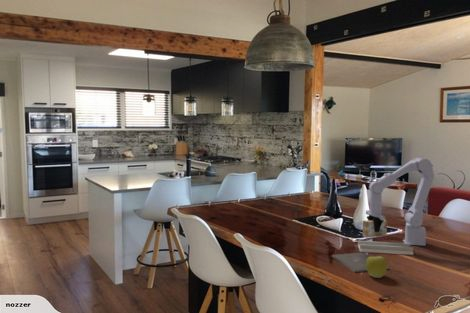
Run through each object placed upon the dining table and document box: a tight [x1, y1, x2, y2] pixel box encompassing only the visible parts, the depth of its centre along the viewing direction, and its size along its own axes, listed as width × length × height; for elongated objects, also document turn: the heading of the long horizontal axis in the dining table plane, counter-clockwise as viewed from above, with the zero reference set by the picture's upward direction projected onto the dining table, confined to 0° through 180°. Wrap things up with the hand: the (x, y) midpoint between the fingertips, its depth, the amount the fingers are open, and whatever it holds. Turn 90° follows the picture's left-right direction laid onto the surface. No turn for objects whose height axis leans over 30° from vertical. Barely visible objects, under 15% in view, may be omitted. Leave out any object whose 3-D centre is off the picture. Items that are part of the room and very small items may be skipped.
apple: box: [366, 255, 388, 279], centre depth 165 cm, size 8×8×10 cm
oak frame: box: [362, 219, 388, 238], centre depth 211 cm, size 12×3×8 cm, turn 104°
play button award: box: [331, 252, 390, 273], centre depth 181 cm, size 16×2×20 cm
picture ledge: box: [357, 240, 414, 256], centre depth 199 cm, size 24×10×3 cm, turn 79°
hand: (374, 230), depth 211 cm, fingers closed on oak frame, 3 cm apart
